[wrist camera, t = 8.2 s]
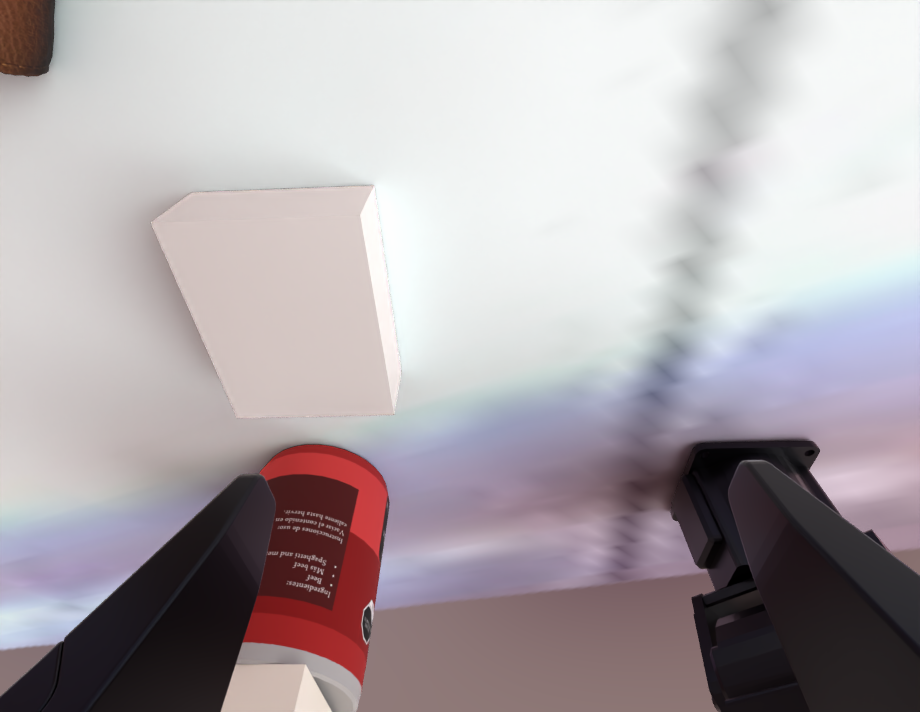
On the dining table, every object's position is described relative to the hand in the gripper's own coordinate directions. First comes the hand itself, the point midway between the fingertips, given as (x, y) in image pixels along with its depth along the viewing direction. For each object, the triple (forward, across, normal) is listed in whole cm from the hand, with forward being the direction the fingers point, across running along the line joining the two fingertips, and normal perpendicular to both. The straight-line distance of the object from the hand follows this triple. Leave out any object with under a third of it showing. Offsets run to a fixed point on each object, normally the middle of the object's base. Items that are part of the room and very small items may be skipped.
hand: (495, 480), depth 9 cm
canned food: (+13, +10, +16) cm, 22 cm away
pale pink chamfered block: (+12, +8, +2) cm, 15 cm away
